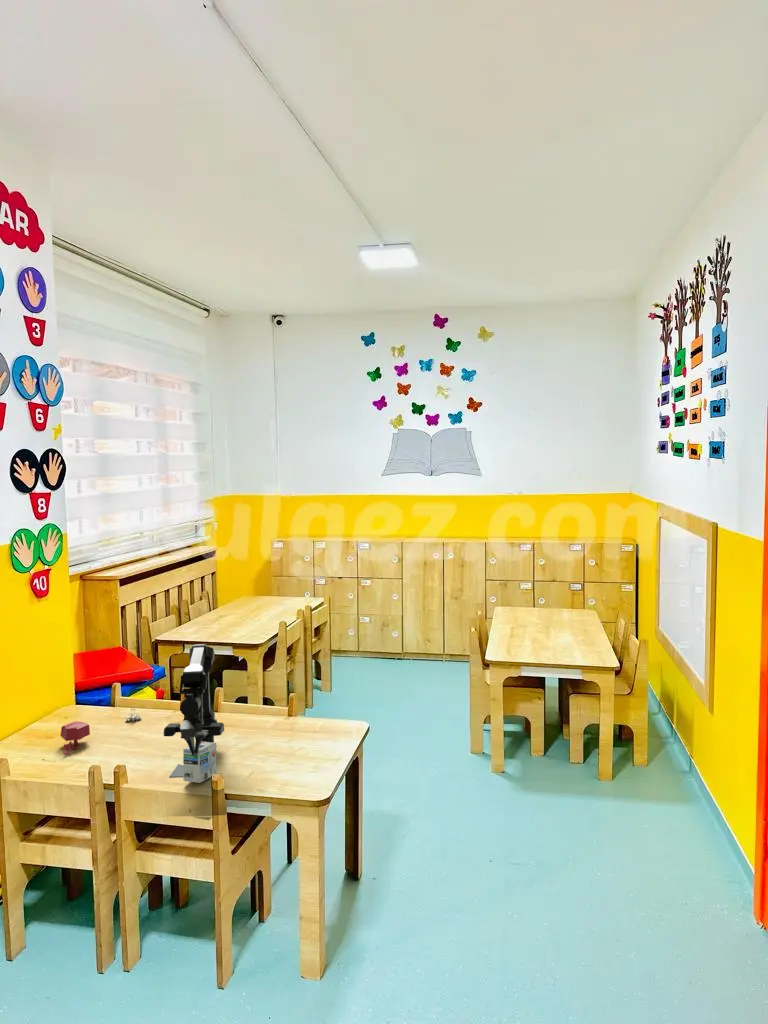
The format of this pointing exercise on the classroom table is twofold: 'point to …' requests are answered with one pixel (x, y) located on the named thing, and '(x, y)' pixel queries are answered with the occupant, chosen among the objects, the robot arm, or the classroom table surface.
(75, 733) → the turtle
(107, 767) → the classroom table surface
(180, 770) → the slate mat
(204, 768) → the light bulb box
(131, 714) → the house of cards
